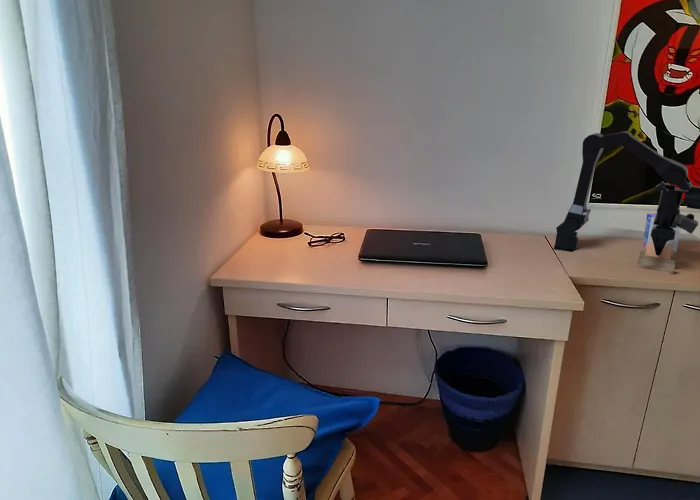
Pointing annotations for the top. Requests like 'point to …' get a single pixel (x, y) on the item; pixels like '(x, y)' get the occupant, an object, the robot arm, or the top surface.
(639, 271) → the top surface
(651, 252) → the terracotta block
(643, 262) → the slot rack
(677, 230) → the ink cartridge box
